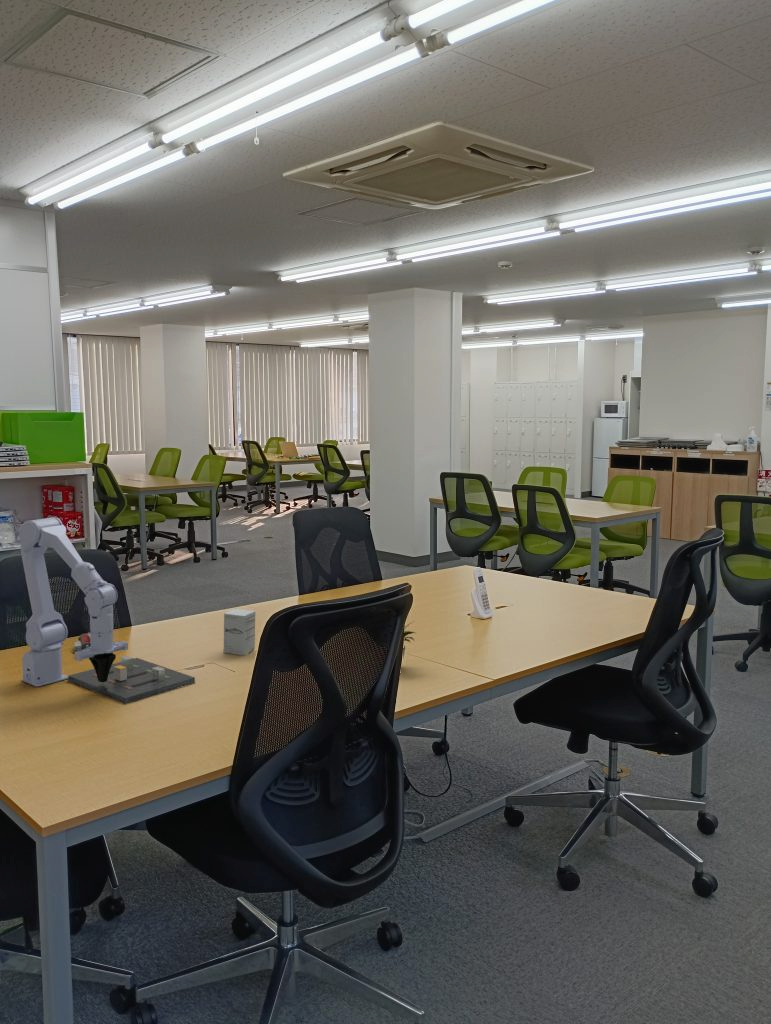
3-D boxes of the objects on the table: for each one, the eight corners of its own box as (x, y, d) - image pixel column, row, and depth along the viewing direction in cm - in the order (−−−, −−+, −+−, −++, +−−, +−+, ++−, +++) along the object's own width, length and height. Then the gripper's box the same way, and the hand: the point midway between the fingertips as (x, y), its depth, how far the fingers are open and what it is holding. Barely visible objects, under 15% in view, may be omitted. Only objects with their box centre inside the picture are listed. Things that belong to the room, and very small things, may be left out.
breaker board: (125, 703, 209) (125, 686, 209) (68, 680, 225) (67, 664, 224) (194, 682, 226) (194, 666, 226) (137, 662, 242) (136, 647, 242)
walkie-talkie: (72, 642, 261) (75, 661, 243) (71, 629, 261) (75, 646, 243) (101, 640, 265) (107, 658, 247) (101, 627, 264) (106, 644, 246)
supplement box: (222, 653, 254) (223, 613, 252) (234, 647, 261) (235, 607, 259) (244, 656, 252) (244, 615, 250) (255, 649, 259) (256, 610, 257)
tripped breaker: (120, 681, 221) (120, 669, 221) (113, 678, 223) (113, 666, 222) (126, 679, 223) (126, 667, 222) (120, 676, 224) (120, 665, 224)
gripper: (85, 639, 208) (86, 691, 210) (134, 628, 220) (135, 677, 222) (70, 634, 213) (70, 685, 214) (118, 623, 224) (119, 672, 226)
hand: (102, 681), depth 218 cm, fingers closed
